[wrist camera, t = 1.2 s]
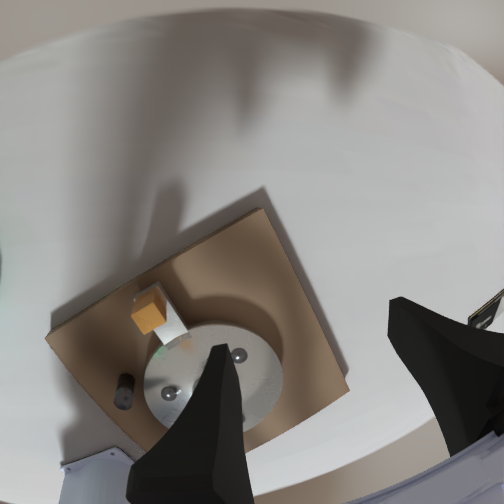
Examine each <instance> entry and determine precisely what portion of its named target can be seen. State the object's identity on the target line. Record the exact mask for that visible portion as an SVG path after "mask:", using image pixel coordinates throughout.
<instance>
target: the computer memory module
mask: <svg viewBox="0 0 504 504" xmlns="http://www.w3.org/2000/svg"><path fill="white" fill-rule="evenodd" d="M503 311H504V289H503V290H502V291H501V292H500V293H499V294H498V295H496V296H495V297H494V298H493V299H492V300H490V301H489V302H488V303H487V304H485V305H484V306H483V307H482V308H480V309H479V310H478V311H477V312H475V313H474V314H473V315H471V316H470V317H469V318H468V323H469V324H468V326H472V327H475V328H478V329H482V330H483V329H484V330H485V329H486V328H487V327H488V326H489V325H490V324H492V322H493V321H494V320H495V319H496V318H497V317H498V316H499V315H500V314H501V313H502V312H503Z"/></svg>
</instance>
